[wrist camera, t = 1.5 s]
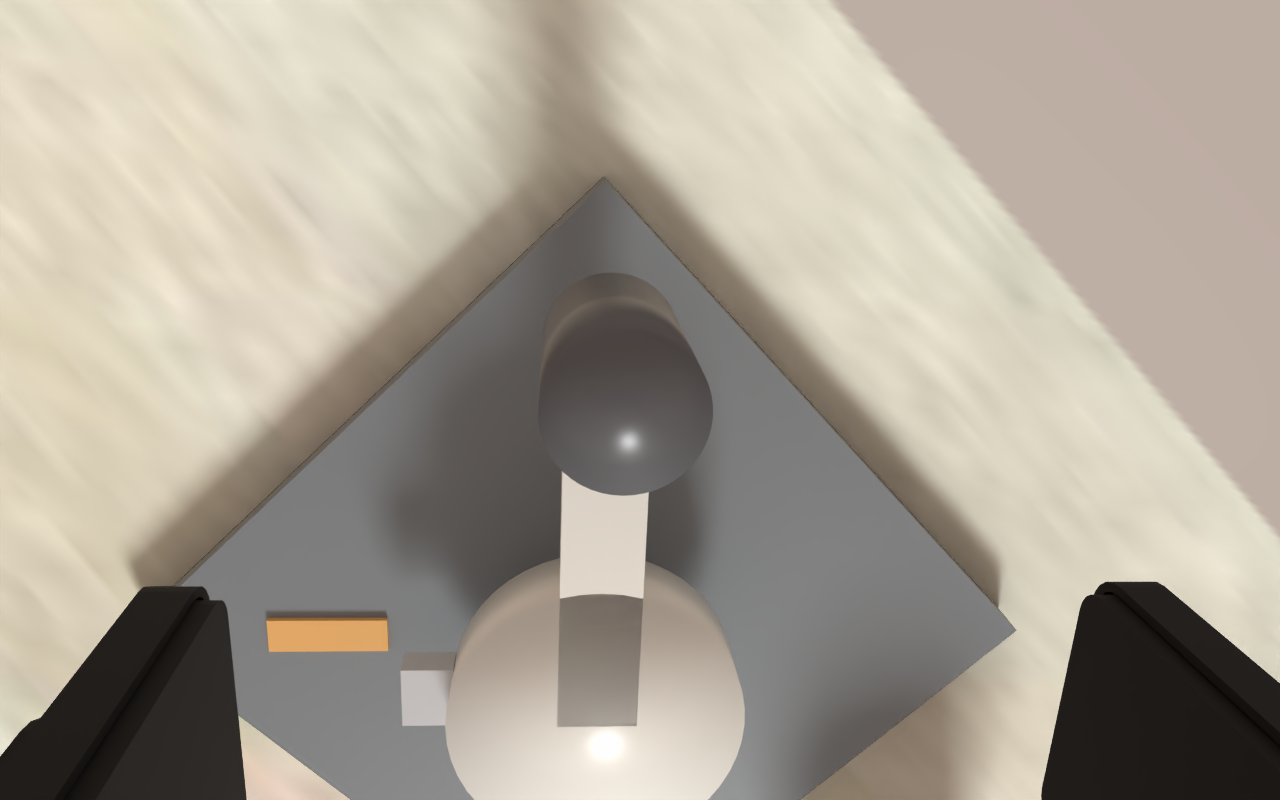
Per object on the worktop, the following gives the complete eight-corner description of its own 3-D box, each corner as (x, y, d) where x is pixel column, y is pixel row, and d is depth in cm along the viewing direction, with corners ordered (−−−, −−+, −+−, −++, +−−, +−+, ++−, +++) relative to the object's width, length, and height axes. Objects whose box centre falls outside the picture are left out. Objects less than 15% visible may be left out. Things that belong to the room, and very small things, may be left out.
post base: (999, 609, 37) (1048, 669, 34) (579, 940, 41) (581, 1029, 37) (604, 176, 31) (610, 190, 27) (147, 610, 35) (97, 676, 31)
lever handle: (718, 825, 34) (767, 1056, 26) (411, 832, 33) (364, 1073, 25) (766, 260, 28) (850, 334, 20) (391, 249, 27) (322, 322, 19)
